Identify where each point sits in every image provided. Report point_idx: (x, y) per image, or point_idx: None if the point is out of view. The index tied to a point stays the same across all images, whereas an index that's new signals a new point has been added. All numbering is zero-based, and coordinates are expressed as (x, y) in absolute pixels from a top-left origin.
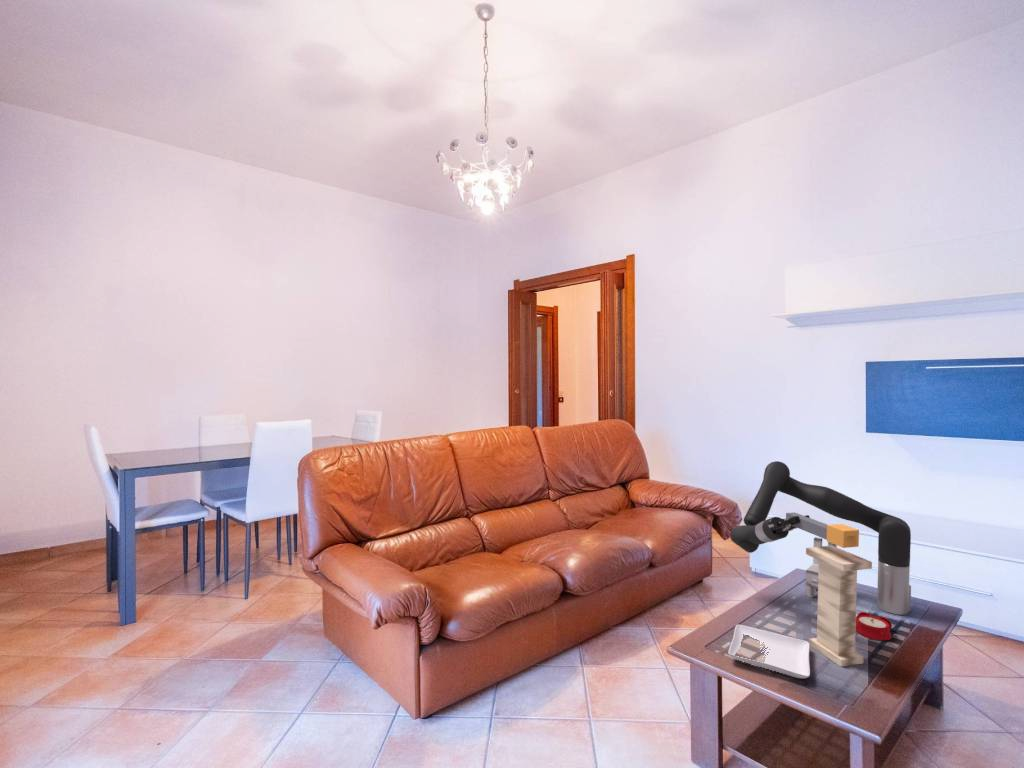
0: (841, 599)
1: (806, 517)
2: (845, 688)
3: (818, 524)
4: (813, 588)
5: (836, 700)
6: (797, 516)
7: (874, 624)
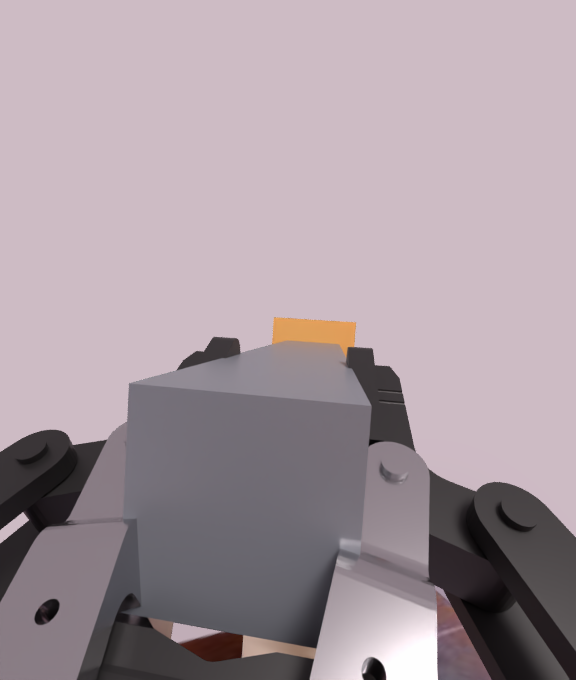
0: None
1: (255, 355)
2: None
3: (327, 347)
4: None
5: (445, 652)
6: (362, 350)
7: None
